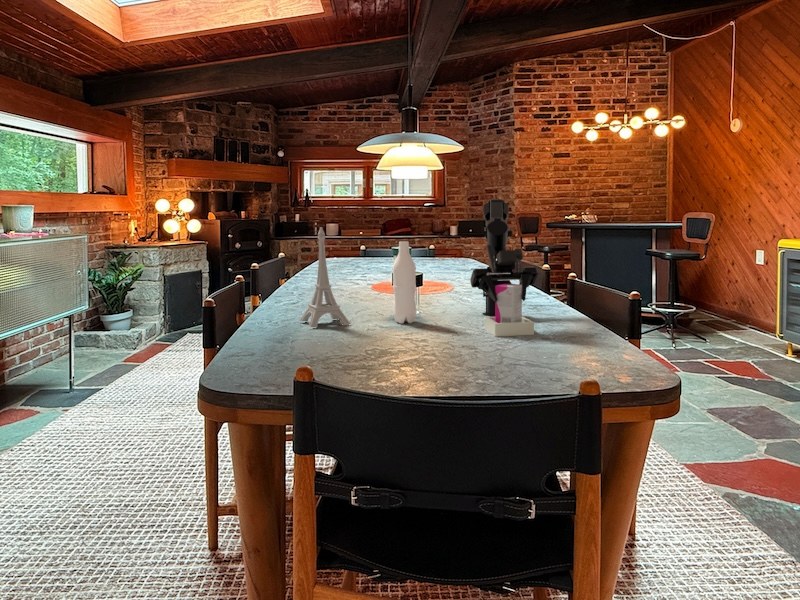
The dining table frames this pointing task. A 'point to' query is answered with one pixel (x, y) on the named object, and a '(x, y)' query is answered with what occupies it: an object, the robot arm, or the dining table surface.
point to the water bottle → (404, 285)
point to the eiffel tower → (317, 306)
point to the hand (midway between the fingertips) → (510, 300)
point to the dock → (509, 327)
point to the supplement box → (508, 303)
